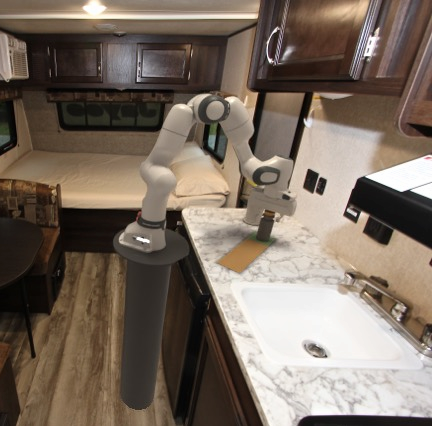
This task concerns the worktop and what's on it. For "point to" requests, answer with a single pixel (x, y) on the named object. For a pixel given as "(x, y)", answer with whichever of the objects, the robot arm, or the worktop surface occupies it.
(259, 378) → the worktop surface
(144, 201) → the robot arm
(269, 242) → the pad
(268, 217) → the bottle
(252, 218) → the cup
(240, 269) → the plate
